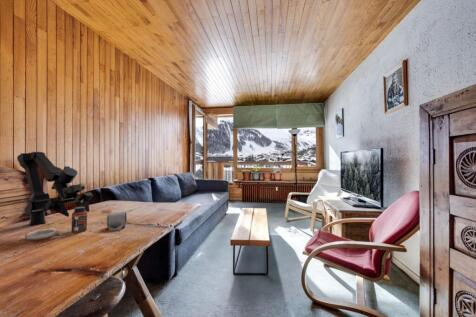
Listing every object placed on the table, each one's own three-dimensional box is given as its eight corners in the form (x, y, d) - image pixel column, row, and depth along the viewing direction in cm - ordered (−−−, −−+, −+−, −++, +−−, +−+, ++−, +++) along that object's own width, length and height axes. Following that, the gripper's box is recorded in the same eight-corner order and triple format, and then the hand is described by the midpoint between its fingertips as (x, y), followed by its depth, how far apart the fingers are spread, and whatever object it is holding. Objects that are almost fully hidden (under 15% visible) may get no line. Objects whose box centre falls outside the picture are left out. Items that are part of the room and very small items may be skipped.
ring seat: (25, 235, 95) (25, 231, 95) (57, 230, 103) (57, 226, 103) (24, 242, 87) (24, 238, 87) (59, 236, 94) (59, 232, 94)
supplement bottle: (78, 233, 98) (78, 209, 98) (68, 232, 99) (68, 208, 99) (90, 229, 104) (90, 206, 104) (80, 228, 105) (80, 205, 105)
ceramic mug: (109, 225, 109) (109, 211, 109) (126, 224, 113) (126, 209, 112) (104, 232, 100) (104, 216, 100) (124, 230, 103) (124, 214, 103)
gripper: (49, 180, 95) (65, 206, 91) (90, 177, 112) (105, 199, 108) (38, 196, 97) (53, 223, 94) (80, 191, 115) (94, 213, 111)
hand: (78, 213), depth 102 cm, fingers open, 9 cm apart
